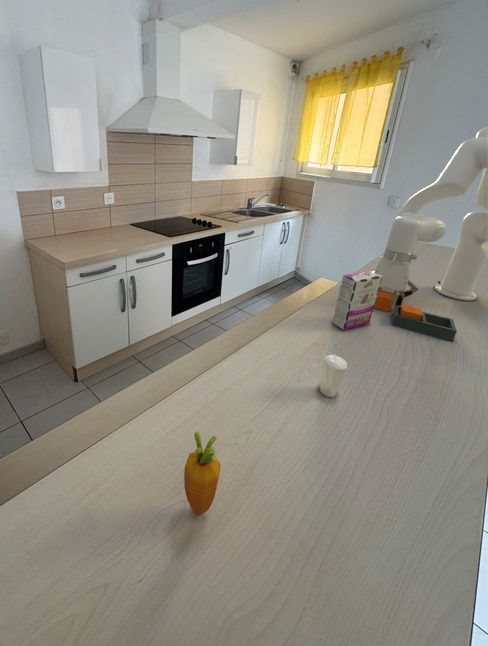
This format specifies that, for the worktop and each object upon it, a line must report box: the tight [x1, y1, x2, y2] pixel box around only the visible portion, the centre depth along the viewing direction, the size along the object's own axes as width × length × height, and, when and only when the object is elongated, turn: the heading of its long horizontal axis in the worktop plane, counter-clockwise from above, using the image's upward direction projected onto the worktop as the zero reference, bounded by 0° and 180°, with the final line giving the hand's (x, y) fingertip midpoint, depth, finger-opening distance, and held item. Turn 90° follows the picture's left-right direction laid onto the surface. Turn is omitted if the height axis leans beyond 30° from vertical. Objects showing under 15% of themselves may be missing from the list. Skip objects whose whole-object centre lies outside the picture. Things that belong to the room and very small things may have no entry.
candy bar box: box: [332, 270, 383, 331], centre depth 97 cm, size 11×5×16 cm, turn 114°
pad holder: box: [391, 305, 457, 342], centre depth 99 cm, size 8×15×4 cm, turn 59°
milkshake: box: [319, 346, 348, 398], centre depth 71 cm, size 4×5×10 cm
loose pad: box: [373, 291, 394, 312], centre depth 110 cm, size 5×5×4 cm
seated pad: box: [399, 303, 423, 320], centre depth 101 cm, size 5×5×4 cm
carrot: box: [183, 431, 221, 516], centre depth 45 cm, size 5×5×15 cm
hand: (381, 302), depth 111 cm, fingers open, 8 cm apart
